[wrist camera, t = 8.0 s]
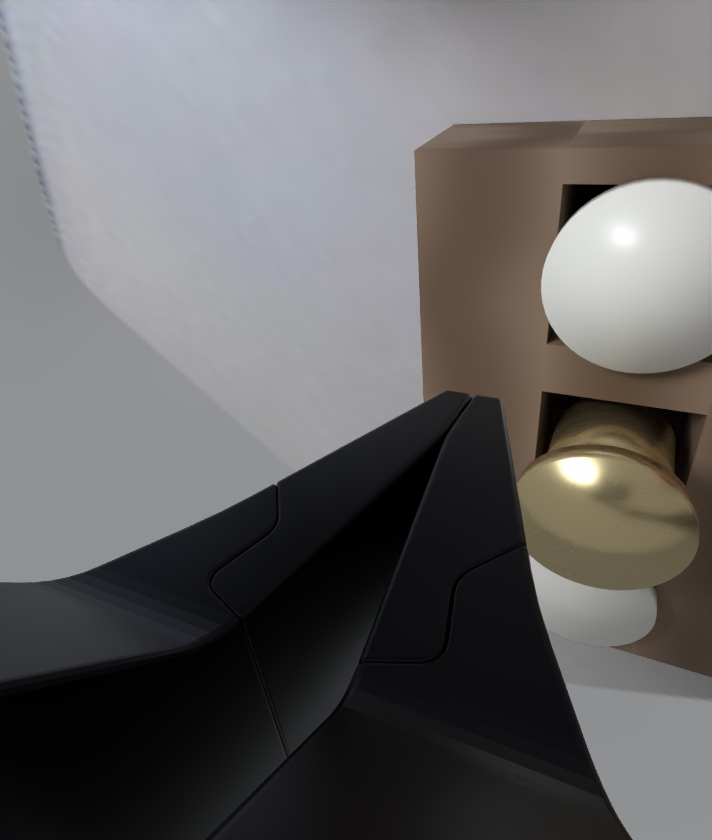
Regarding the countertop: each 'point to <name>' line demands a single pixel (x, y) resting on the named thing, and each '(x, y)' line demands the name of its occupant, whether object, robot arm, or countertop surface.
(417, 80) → the countertop surface
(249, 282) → the countertop surface
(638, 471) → the brass knob
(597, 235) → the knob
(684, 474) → the control panel
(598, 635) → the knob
